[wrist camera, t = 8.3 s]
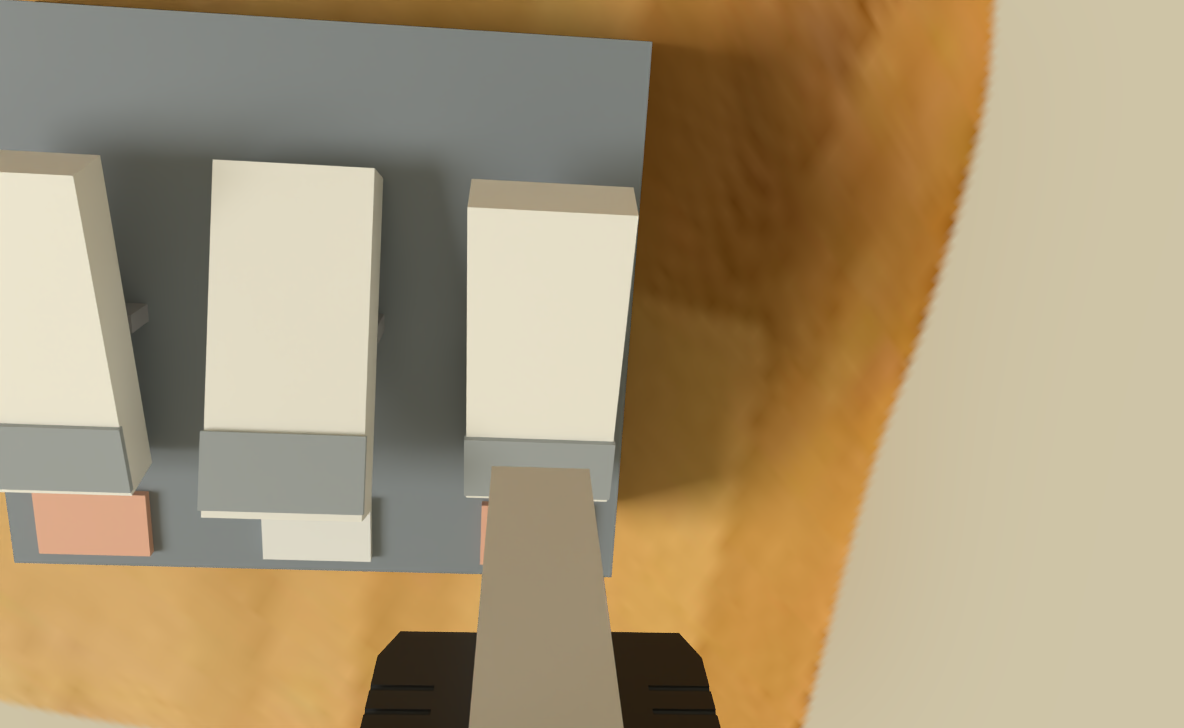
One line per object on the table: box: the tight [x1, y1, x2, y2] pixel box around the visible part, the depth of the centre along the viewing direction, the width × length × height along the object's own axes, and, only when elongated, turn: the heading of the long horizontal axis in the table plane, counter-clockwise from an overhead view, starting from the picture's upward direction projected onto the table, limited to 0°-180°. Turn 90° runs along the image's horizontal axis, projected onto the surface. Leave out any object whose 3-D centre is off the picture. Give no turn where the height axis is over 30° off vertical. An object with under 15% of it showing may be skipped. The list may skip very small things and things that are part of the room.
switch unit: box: [0, 0, 652, 577], centre depth 30 cm, size 16×18×6 cm
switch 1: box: [0, 150, 152, 496], centre depth 25 cm, size 9×4×2 cm, turn 176°
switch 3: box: [464, 179, 639, 502], centre depth 26 cm, size 9×4×2 cm, turn 176°
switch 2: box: [197, 159, 383, 522], centre depth 26 cm, size 9×4×2 cm, turn 177°
